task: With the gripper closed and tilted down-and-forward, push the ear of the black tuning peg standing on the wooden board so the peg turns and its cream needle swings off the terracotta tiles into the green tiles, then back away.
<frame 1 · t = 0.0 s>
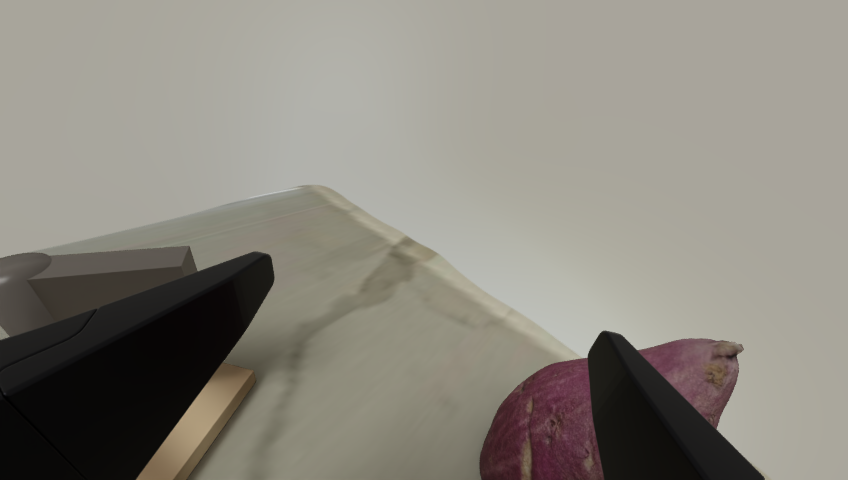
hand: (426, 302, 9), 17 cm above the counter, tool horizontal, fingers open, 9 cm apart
wooden board: (89, 443, 19), on the counter
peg: (133, 311, 20), point 6 cm above the counter, hinge at 0.0°
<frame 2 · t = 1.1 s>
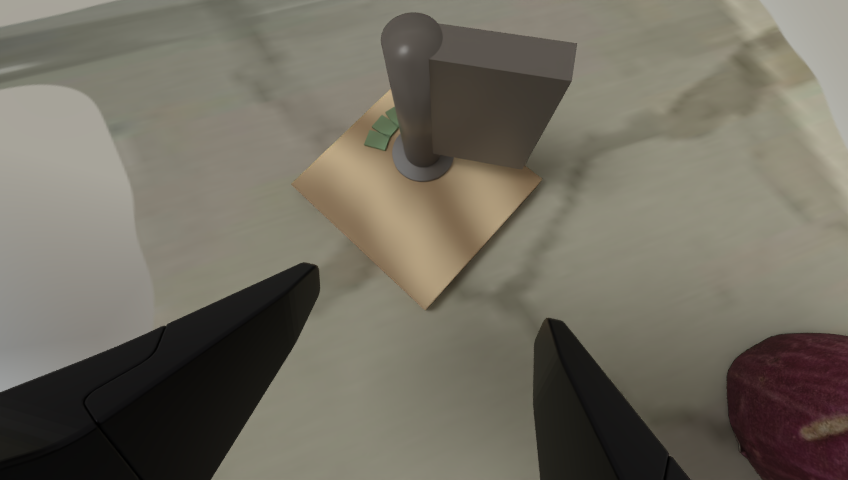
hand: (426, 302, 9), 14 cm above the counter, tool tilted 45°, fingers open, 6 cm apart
wooden board: (415, 188, 24), on the counter
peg: (471, 92, 18), point 6 cm above the counter, hinge at 0.0°
vegetable: (809, 419, 20), on the counter
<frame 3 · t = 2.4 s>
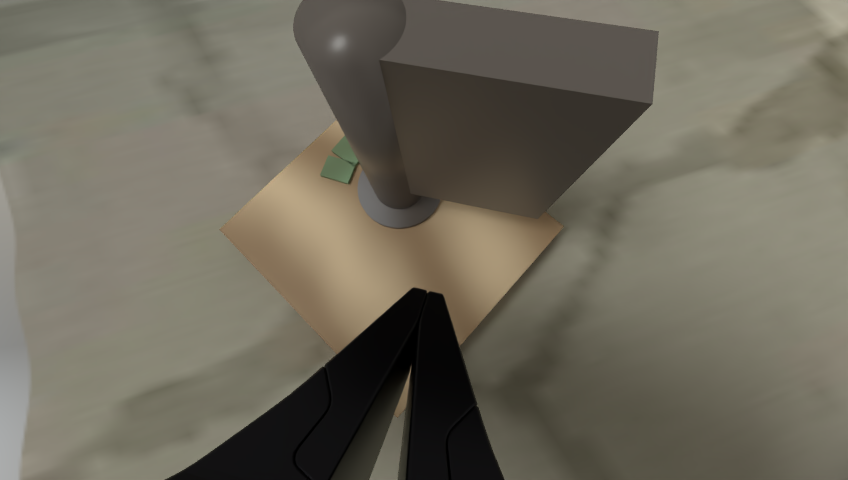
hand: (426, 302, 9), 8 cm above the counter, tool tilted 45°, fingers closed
wooden board: (390, 233, 18), on the counter
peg: (464, 111, 12), point 6 cm above the counter, hinge at 0.0°
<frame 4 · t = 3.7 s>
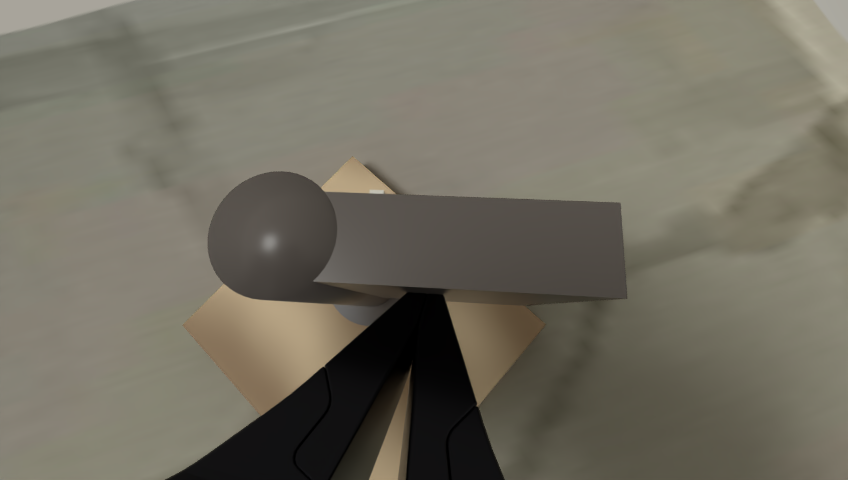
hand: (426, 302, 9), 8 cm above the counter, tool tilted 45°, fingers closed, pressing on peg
wooden board: (364, 323, 17), on the counter
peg: (424, 226, 11), point 6 cm above the counter, hinge at 9.3°, touching gripper
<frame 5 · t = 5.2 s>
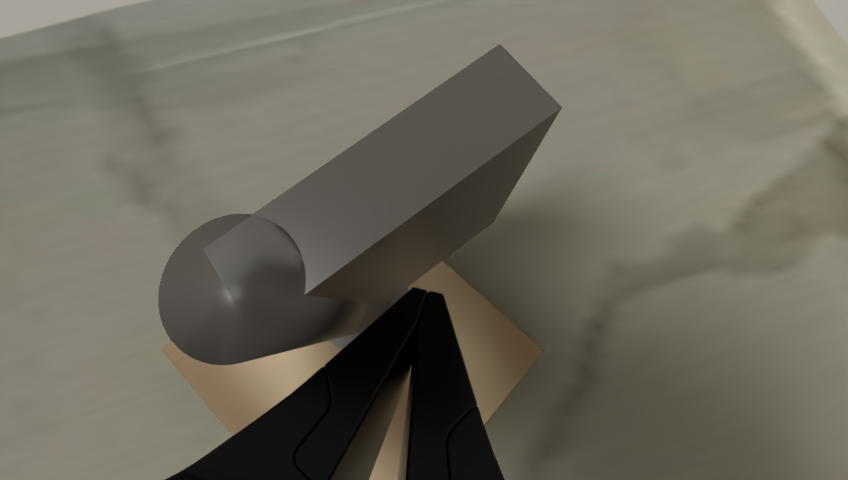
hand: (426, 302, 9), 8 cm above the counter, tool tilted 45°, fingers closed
wooden board: (354, 347, 16), on the counter
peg: (368, 211, 11), point 6 cm above the counter, hinge at 49.2°
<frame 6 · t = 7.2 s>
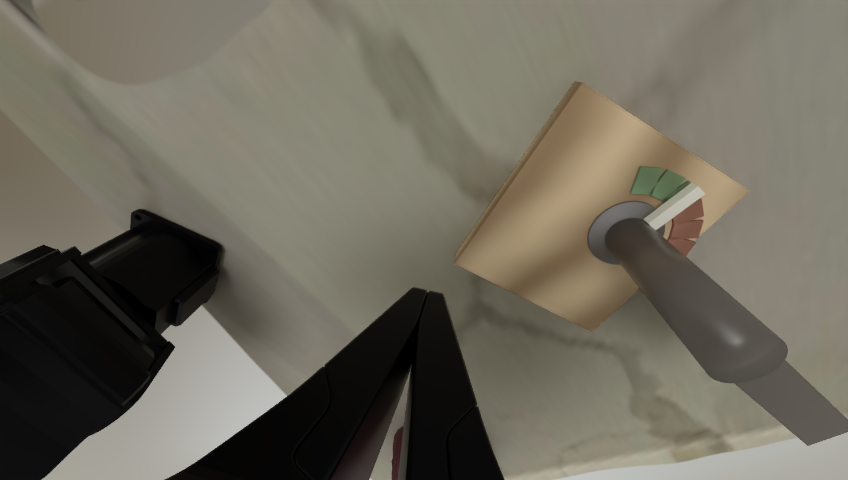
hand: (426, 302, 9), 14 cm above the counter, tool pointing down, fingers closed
wooden board: (581, 222, 22), on the counter
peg: (732, 293, 16), point 6 cm above the counter, hinge at 49.4°
vegetable: (442, 440, 36), on the counter
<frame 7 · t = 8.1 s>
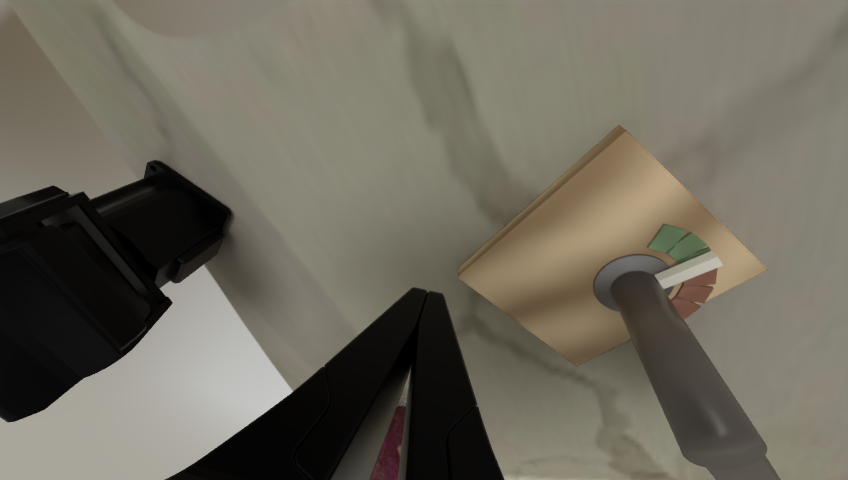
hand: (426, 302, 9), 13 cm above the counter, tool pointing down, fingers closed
wooden board: (591, 263, 22), on the counter
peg: (724, 372, 16), point 6 cm above the counter, hinge at 49.4°
vegetable: (410, 430, 37), on the counter
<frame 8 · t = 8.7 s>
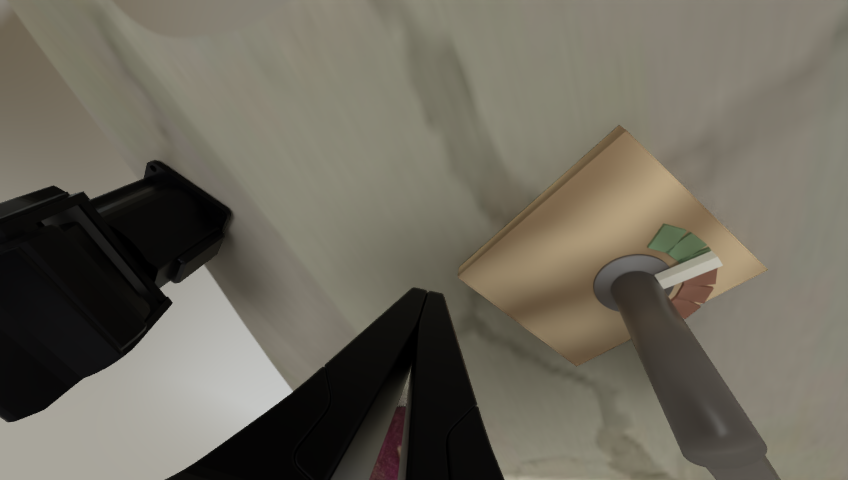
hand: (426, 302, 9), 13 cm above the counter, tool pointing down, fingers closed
wooden board: (591, 263, 22), on the counter
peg: (724, 372, 16), point 6 cm above the counter, hinge at 49.4°
vegetable: (410, 430, 37), on the counter
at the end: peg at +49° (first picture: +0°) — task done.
